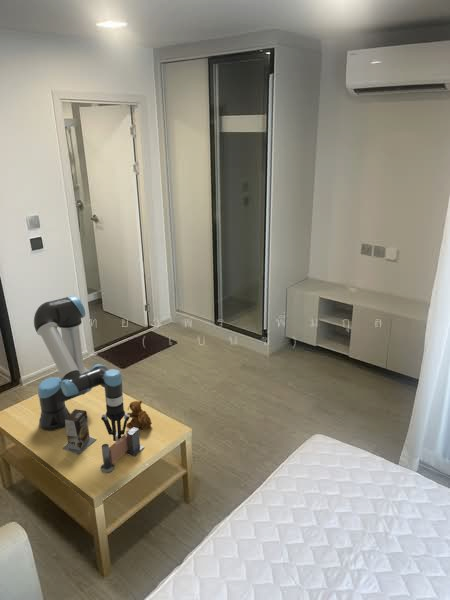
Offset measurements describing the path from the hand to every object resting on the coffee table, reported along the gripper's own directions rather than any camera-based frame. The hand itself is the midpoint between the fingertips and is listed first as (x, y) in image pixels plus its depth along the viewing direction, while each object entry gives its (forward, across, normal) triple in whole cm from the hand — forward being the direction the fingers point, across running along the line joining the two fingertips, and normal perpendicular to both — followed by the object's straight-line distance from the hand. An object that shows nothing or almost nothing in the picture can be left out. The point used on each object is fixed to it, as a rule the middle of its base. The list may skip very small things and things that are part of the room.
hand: (117, 446), depth 210 cm
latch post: (+2, +8, 0) cm, 8 cm away
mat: (+3, -19, +6) cm, 20 cm away
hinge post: (+3, -3, -12) cm, 12 cm away
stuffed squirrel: (+3, +8, +19) cm, 21 cm away
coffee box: (+3, -19, +6) cm, 20 cm away
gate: (+1, +2, -3) cm, 4 cm away
